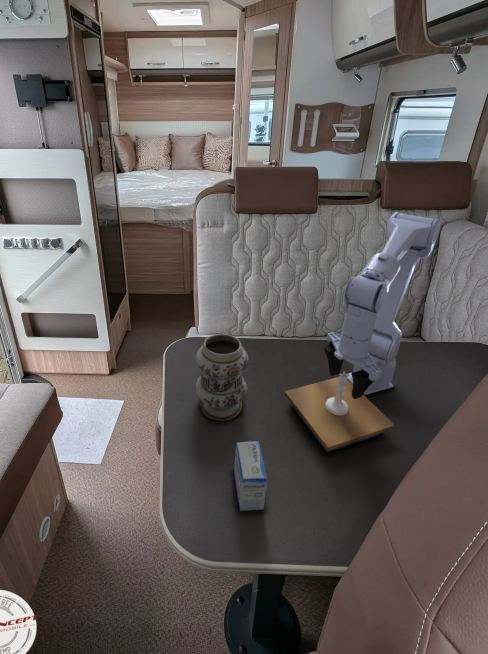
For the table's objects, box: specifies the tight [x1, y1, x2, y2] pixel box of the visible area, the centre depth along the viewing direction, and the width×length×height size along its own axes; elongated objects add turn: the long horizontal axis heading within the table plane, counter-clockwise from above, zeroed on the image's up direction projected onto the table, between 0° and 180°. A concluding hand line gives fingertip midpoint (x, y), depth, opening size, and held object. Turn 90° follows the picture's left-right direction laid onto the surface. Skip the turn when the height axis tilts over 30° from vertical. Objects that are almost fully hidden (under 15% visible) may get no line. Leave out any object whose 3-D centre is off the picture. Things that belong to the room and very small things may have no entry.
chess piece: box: [325, 371, 348, 415], centre depth 80 cm, size 5×5×10 cm
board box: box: [283, 376, 396, 454], centre depth 83 cm, size 17×17×4 cm
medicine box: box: [233, 440, 268, 512], centre depth 66 cm, size 8×4×9 cm, turn 5°
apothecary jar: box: [195, 333, 249, 422], centre depth 84 cm, size 12×12×18 cm
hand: (345, 385), depth 79 cm, fingers open, 7 cm apart
